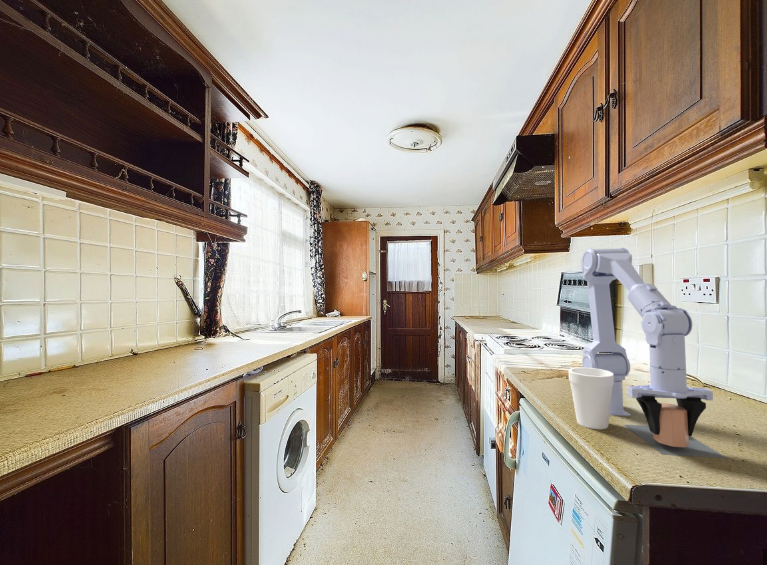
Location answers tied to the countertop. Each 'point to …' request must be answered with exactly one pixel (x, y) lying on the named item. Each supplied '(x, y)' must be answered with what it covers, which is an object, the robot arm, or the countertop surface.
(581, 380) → the foam cup
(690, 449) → the mat
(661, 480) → the countertop surface
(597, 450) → the countertop surface
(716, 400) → the countertop surface
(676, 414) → the salmon pink faceted cylinder
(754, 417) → the countertop surface
